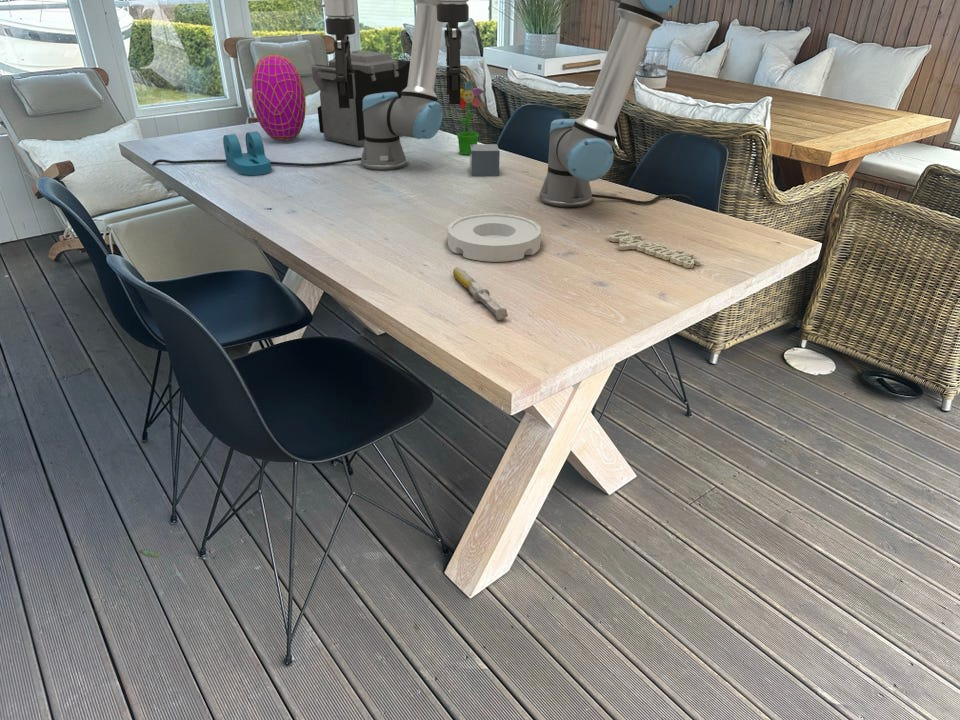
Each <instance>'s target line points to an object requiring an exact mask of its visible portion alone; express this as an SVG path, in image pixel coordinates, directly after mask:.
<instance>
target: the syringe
mask: <svg viewBox="0 0 960 720" xmlns="http://www.w3.org/2000/svg"><path fill="white" fill-rule="evenodd" d="M452 274H453V277H454V279H455V280H457V281H458V282H459V283H460V285H462V287H464V289H466V290H467V291H468V293H470V295H471V296H472V298H473V300H474V302H477V303H478V302H480V303H482V304H483V305H484V306H485V307H486V308H487V309H488V310H489V311H490V312H491V313H492V314H493V315H494V316H495V317H496V320H497V321H503V320H504V319H506V318H507V317H509V314H508V310H507V308H506V307H502V306H501V305H500V303H498V302H497V301H496V300H494V299H493V298H492V297H491V296H490V295H491V293H490V290H488V289H486V288H483V287H482V286H481V285H480V284H479V283H478V282H477V281H476V280H474V278H473V277H471V275H469V274H468V273H467V272H466V270H465V269H464V268H463V267H462V266H456V267H454V268H453V271H452Z"/></svg>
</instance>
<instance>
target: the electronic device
mask: <svg viewBox="0 0 960 720" xmlns="http://www.w3.org/2000/svg"><path fill="white" fill-rule="evenodd" d="M350 56H351V64H352V69H354V73H350V74H352V80H353V92H354V99H349V103H350V108H339V98H338V87H337V82H334V78H336V64H335V57H334V58H332V59H330V60H328V65H324V64H311V75H312V79H313V81H314V83H315V85H316V87H318V89H319V91H320V92H319V100H320V106H317V117H318V127H319V133H320V134H323V137H324V139H325V140H328V141H332V142H337V143H342V144H346V145H351V146H356V147H364V145H365V132H364V119H363V111H362V109H363V98H364V97H365V96H367V95H371V94H376V93H384V92H396V93H397V94H398V98H401V94H402V91H403V90H404V89H405V88H406V87H407V84H408V76H409V67H410V60H403V59H396V58H395V59H394V58H392V56H391V54H390V53H387V52H378V51H369V50H362V49H359V50H352V51H350Z"/></svg>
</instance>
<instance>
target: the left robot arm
mask: <svg viewBox="0 0 960 720" xmlns="http://www.w3.org/2000/svg"><path fill="white" fill-rule="evenodd" d="M412 1H413V2H414V3H415V5H416V11H415V19H414V27H413V34H412V35H413V36H412V43H411V52H410V60H409V61H410V67H409V76H408V84H407V87H406V88H405V89H404V90H403V91H402V94H401V98H398V94H397V93H396V92H384V93H376V94H371V95H367V96H365V97H364V98H363V109H362V111H363V119H364V132H365V145H364V146H363V150H362V154H361V157H356V158H355V157H354V158H348V159H341V160H336V161H327V162H314V163H312V162H311V163H310V162H309V163H305V162H304V163H301V162H284V161H282V162H281V161H270V163H271V165H276V166H292V167H321V166H322V167H323V166H324V167H325V166H332V165H339V164H345V163H353V162H360V164H361V167H363V168H365V169H368V170H372V171H389V170H391V171H392V170H396V169H397V170H398V169H401V168H403V167H405V166H407V157H406V154H405V152H404V149H403V146H402V143H401V137H404V138H405V137H406V138H412V139H413V138H414V139H417V140H422V139H423V140H430V139H432V138H433V137H435V136H436V134H438V132H439V130H440V128H441V125H442V122H443V117H444V116H443V114H444V113H443V108H442V105H441V104H440V103H439V102H438V98H439V97H438V96H437V94H436V92H435V84H436V77H437V70H438V62H439V55H440V54H439V53H440V46H441V37H442V32H443V24H444V22H439V21H438V20H437V4H439V1H437V0H412ZM321 7H322V8H324V15H325V17H326V18H325V19H324V20H325V31H326V34H327V35H330V36H335V39H334V41H333V47H334V49H333V50H334V58H335V64H336V78H334V82H337V87H338V98H339V108H350V103H349V99H354V92H353V80H352V74H350V73H354V69H352V64H351V56H350V52H351V41H350V36H351V35H355V33H356V20H355V19H354V18H353V17H354V16H355V3H354V0H323V2H321ZM349 35H350V36H349ZM159 163H167V164H172V165H173V164H174V165H176V164H177V165H179V164H181V165H182V164H196V163H197V164H199V163H200V164H201V163H227V162H226V158H225V159H224V158H223V159H222V158H221V159H219V158H218V159H215V158H214V159H189V160H169V159H162V158H161V159H160V158H159V159H156V160H154V161H153V162H152V164H151V166H156V165H157V164H159Z"/></svg>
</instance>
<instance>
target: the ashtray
mask: <svg viewBox="0 0 960 720" xmlns="http://www.w3.org/2000/svg"><path fill="white" fill-rule="evenodd" d="M541 243H542V227H541V226H540V225H539V224H538V223H537V222H535V221H534V220H531V219H529V218H526V217H523V216H520V215H514V214H508V213H478V214H471V215H466V216H462V217H459V218H457V219H454V220H453V221H451V222H450V223H449V225H448V226H447V247H448V249H449V250H450V251H451V252H452V253H454V254H462V256H463V258H465V259H468V260H474V261H479V262H491V263H499V262H500V263H501V262H503V263H504V262H514V261H519V260H522V259H523V260H524V258H525V256H533V255H535V254H536V253H537V252H539V251H540V248H541Z"/></svg>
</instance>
